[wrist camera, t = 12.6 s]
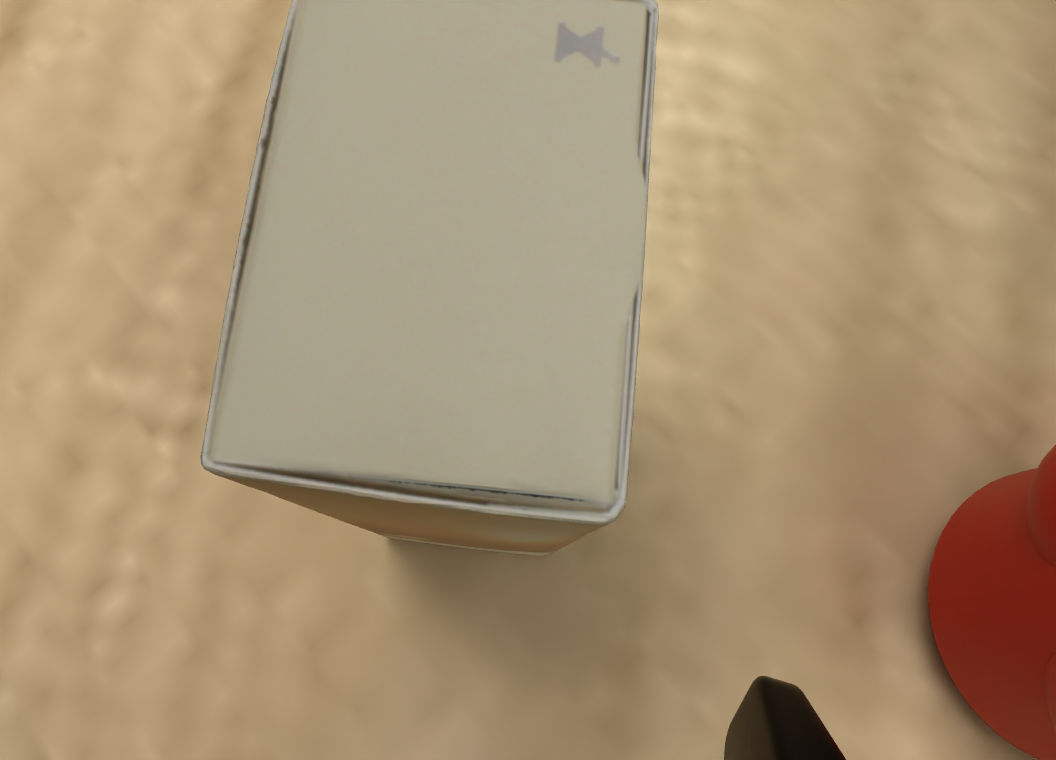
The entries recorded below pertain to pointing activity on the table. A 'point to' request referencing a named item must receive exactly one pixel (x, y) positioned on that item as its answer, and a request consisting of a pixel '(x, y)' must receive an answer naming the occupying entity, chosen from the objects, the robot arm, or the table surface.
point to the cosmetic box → (444, 270)
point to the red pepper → (1002, 605)
